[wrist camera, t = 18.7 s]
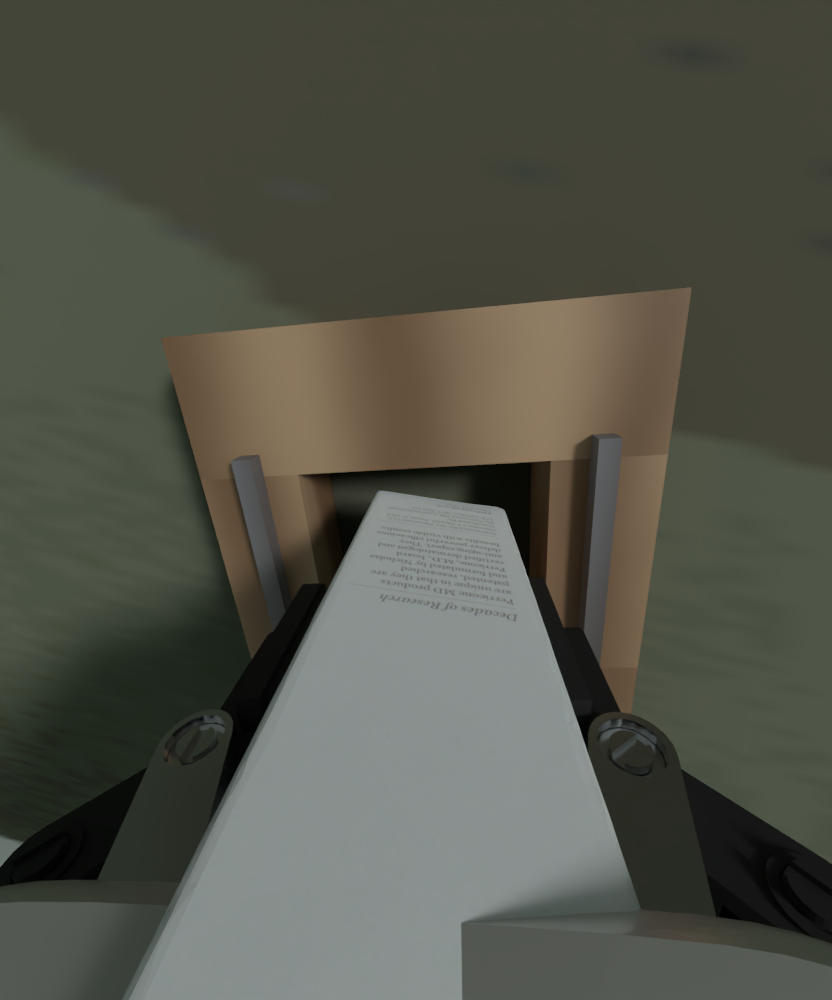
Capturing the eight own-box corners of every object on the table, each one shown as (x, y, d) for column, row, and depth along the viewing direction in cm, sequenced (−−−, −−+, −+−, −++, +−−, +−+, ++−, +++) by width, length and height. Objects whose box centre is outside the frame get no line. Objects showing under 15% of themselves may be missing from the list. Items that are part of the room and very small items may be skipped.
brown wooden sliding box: (638, 300, 13) (706, 284, 9) (586, 808, 21) (612, 896, 18) (218, 339, 14) (145, 337, 11) (326, 800, 23) (304, 879, 19)
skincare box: (477, 654, 15) (551, 1602, 4) (362, 636, 15) (96, 1494, 4) (511, 501, 13) (968, 1729, 1) (375, 482, 13) (-171, 1457, 2)
